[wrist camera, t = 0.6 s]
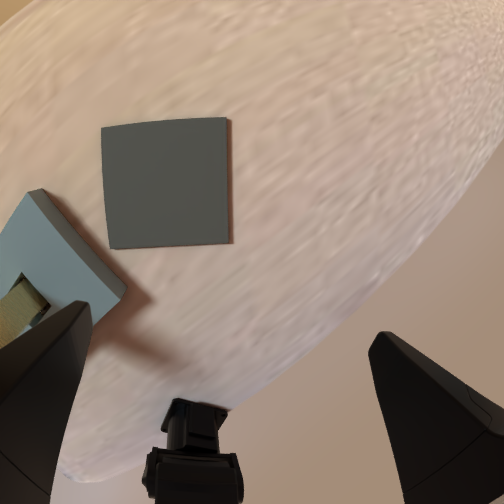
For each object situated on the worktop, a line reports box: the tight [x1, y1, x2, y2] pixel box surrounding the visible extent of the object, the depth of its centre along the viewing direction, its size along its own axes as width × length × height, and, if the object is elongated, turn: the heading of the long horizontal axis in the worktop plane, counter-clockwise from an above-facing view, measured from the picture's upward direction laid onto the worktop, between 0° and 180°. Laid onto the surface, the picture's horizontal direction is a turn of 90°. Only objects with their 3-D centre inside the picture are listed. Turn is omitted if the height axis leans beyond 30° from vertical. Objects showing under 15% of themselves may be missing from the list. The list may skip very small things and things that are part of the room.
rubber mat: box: [101, 117, 229, 249], centre depth 22 cm, size 10×10×1 cm
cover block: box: [0, 188, 127, 335], centre depth 22 cm, size 12×16×2 cm
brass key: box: [0, 278, 48, 349], centre depth 17 cm, size 5×3×14 cm, turn 38°
